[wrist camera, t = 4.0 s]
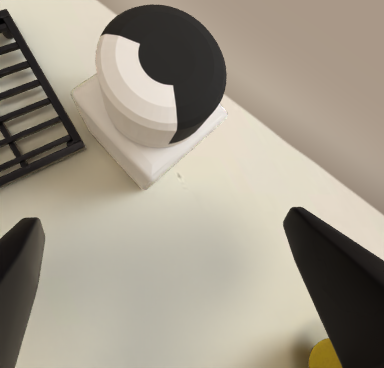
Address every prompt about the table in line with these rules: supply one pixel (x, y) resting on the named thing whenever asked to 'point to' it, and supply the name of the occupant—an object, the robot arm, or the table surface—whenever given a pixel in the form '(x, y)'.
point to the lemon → (324, 356)
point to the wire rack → (6, 25)
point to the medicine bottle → (153, 90)
